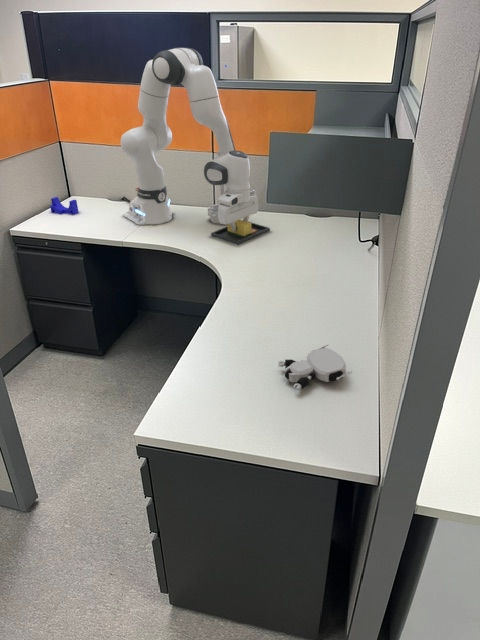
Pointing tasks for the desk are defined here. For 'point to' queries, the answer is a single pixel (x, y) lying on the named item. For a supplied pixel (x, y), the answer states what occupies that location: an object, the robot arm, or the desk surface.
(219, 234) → the tray
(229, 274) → the desk surface
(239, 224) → the sponge
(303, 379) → the robot toy
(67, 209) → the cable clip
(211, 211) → the flag stand
